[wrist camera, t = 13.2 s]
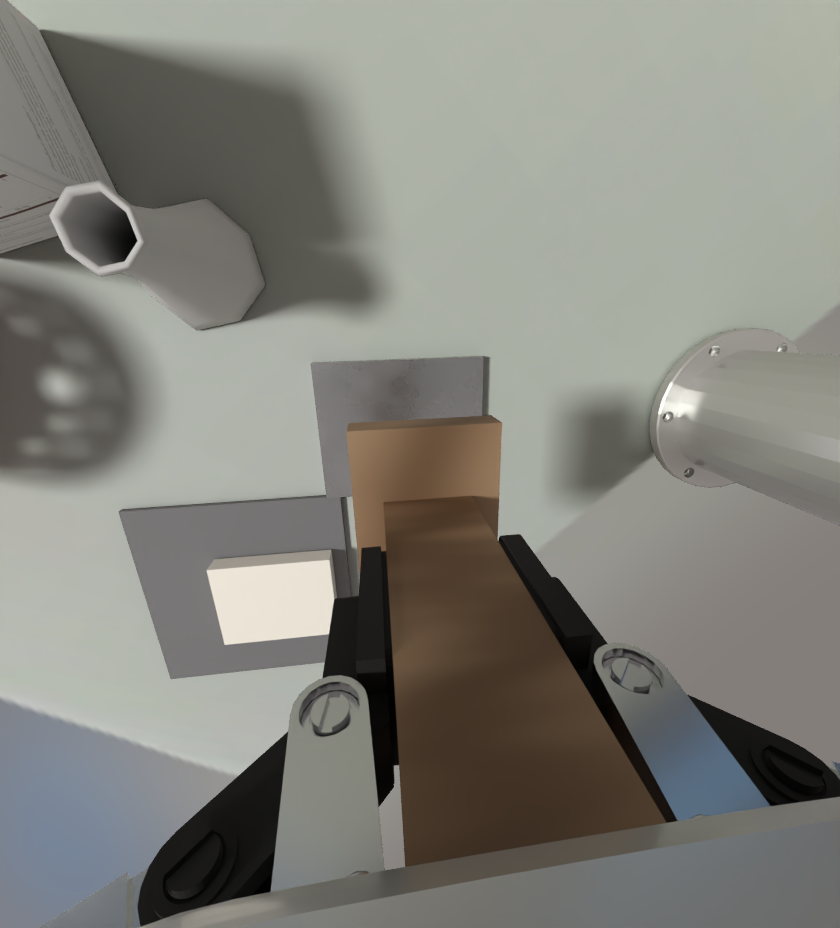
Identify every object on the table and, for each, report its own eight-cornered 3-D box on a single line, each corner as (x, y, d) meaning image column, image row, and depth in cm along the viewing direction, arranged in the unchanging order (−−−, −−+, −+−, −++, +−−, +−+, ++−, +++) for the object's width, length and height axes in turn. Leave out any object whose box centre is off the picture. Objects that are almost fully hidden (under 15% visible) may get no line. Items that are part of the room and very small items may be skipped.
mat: (340, 494, 30) (340, 496, 30) (357, 655, 36) (357, 658, 35) (121, 509, 29) (118, 511, 28) (173, 675, 34) (170, 679, 34)
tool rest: (481, 356, 28) (483, 356, 28) (478, 484, 31) (480, 487, 31) (312, 362, 27) (310, 363, 26) (327, 494, 30) (326, 498, 30)
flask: (287, 291, 25) (235, 268, 16) (196, 350, 26) (96, 360, 17) (211, 175, 23) (99, 68, 14) (113, 243, 24) (-59, 184, 14)
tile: (214, 558, 30) (331, 548, 31) (231, 630, 33) (340, 619, 34) (206, 570, 29) (329, 559, 30) (224, 644, 31) (338, 633, 32)
